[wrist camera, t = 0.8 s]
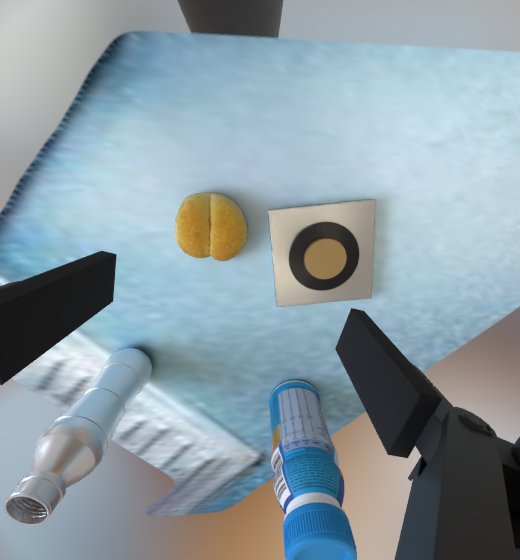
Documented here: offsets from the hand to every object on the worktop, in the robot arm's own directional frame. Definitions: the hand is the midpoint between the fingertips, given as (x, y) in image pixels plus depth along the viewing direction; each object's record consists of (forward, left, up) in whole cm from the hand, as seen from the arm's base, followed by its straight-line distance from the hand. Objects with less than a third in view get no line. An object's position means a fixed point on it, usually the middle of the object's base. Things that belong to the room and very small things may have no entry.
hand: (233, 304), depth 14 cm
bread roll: (-2, -4, -21) cm, 22 cm away
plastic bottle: (+17, -19, -21) cm, 34 cm away
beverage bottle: (+27, +5, -21) cm, 35 cm away
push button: (+3, +10, -21) cm, 23 cm away
